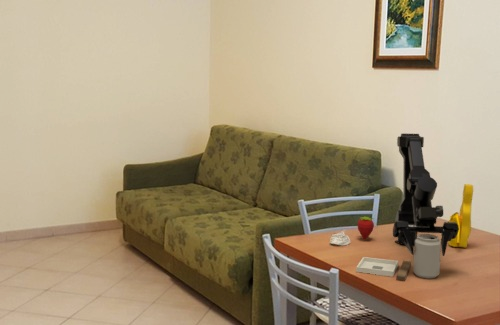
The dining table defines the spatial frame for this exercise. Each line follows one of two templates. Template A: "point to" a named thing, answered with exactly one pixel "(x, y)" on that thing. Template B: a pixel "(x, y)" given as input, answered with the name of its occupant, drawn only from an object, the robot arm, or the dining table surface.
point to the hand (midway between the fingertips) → (428, 254)
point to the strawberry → (365, 226)
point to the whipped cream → (340, 239)
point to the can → (427, 256)
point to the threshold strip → (403, 270)
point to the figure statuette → (463, 219)
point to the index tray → (377, 266)
